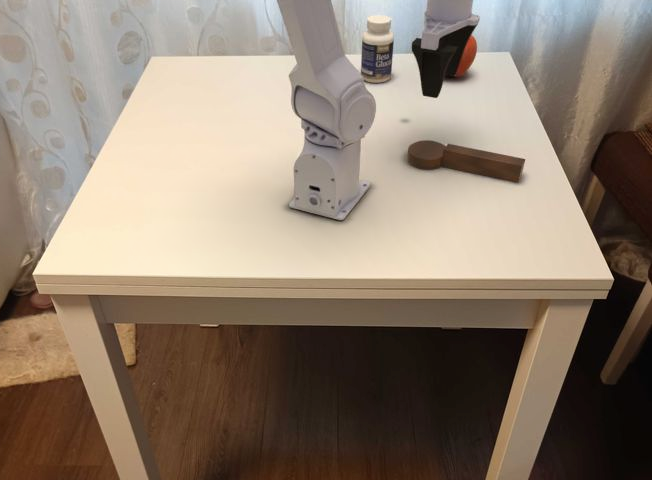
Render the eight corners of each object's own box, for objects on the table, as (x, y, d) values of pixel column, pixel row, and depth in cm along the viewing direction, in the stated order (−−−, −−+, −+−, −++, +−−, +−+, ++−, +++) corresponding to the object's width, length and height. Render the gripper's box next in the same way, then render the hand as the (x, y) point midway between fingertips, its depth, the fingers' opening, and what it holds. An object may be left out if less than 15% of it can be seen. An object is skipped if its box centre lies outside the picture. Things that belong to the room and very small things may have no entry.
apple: (464, 65, 116) (471, 18, 110) (478, 81, 111) (486, 33, 105) (425, 68, 115) (430, 21, 109) (437, 85, 110) (443, 37, 104)
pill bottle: (376, 86, 110) (379, 26, 104) (354, 77, 113) (356, 19, 106) (397, 77, 113) (401, 18, 106) (375, 68, 116) (378, 10, 109)
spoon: (524, 169, 90) (528, 152, 88) (514, 189, 86) (519, 172, 84) (414, 147, 95) (416, 130, 93) (401, 164, 92) (403, 148, 90)
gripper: (467, -3, 73) (451, 111, 83) (500, -37, 82) (482, 69, 92) (409, -10, 75) (400, 102, 85) (447, -43, 84) (435, 62, 94)
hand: (439, 85), depth 88 cm, fingers open, 7 cm apart
